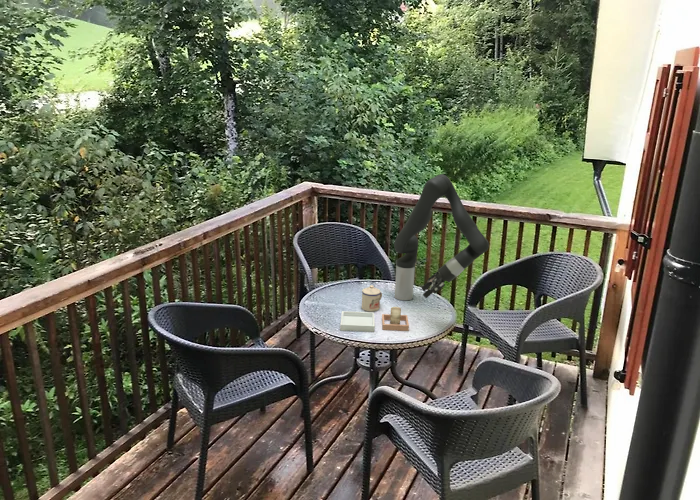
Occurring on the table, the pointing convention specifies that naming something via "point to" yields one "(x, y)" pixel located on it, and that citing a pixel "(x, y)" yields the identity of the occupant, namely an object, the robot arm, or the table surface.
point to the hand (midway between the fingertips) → (423, 292)
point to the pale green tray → (357, 321)
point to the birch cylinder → (395, 315)
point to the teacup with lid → (371, 298)
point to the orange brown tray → (393, 326)
